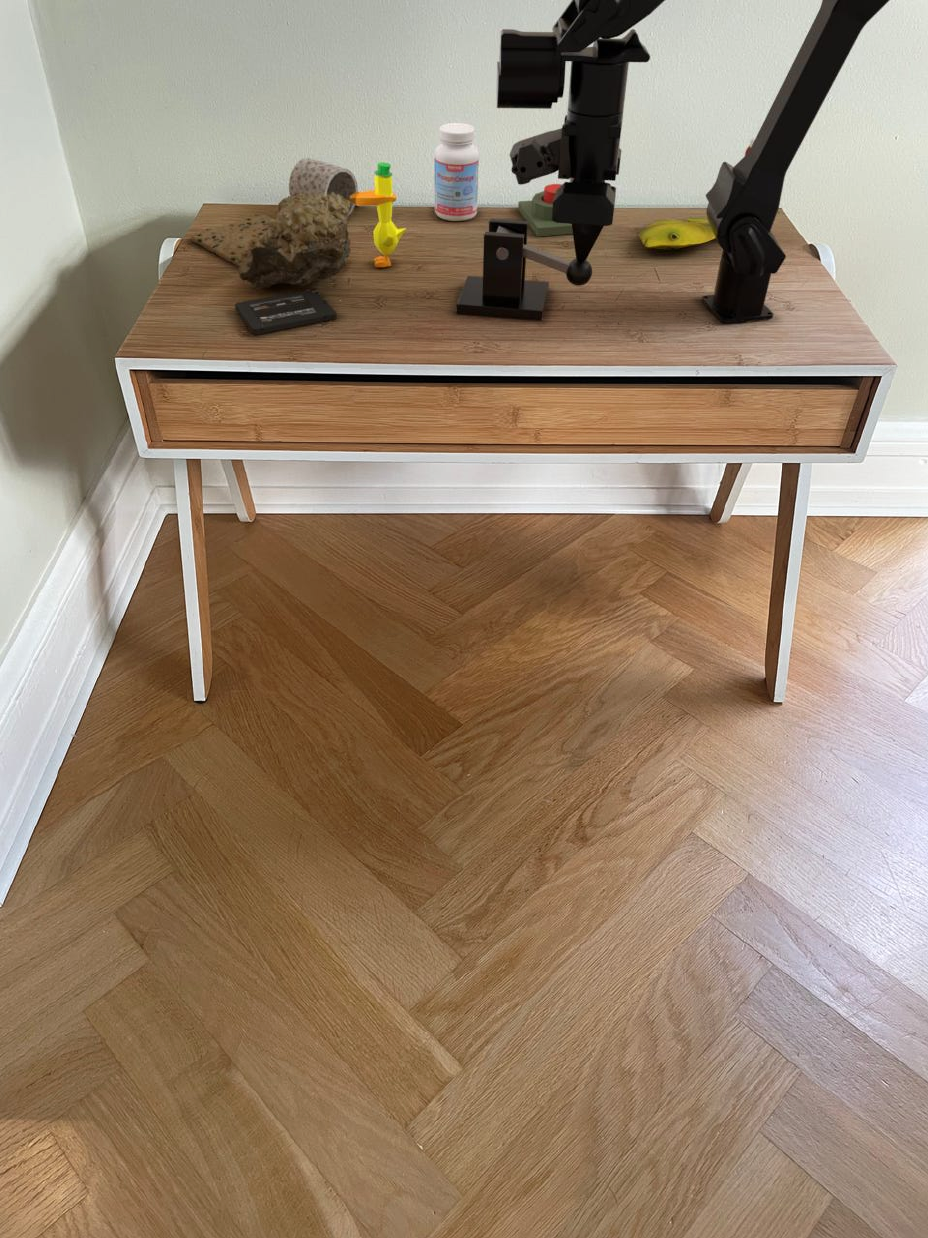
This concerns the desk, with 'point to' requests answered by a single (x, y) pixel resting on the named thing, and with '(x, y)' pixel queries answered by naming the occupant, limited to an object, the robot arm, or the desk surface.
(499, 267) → the bracket
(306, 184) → the speckled mug
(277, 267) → the mineral specimen
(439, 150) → the pill bottle
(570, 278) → the lever
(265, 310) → the solid state drive
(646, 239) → the fish
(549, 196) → the button
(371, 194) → the toy figure
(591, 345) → the desk surface
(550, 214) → the button block
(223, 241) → the cookie
